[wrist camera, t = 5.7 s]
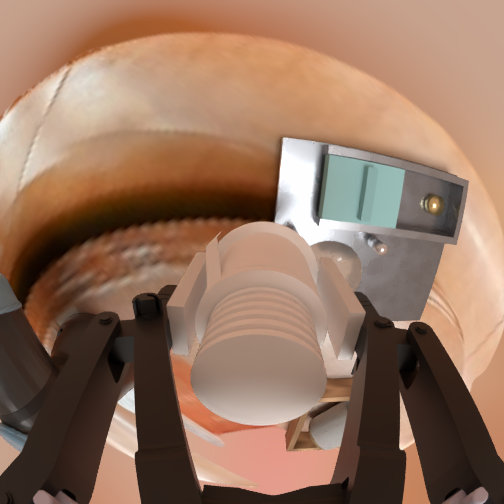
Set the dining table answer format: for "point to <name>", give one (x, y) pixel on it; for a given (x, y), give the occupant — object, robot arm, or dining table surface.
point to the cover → (360, 192)
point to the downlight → (260, 327)
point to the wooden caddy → (294, 436)
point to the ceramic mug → (329, 427)
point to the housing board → (374, 237)
